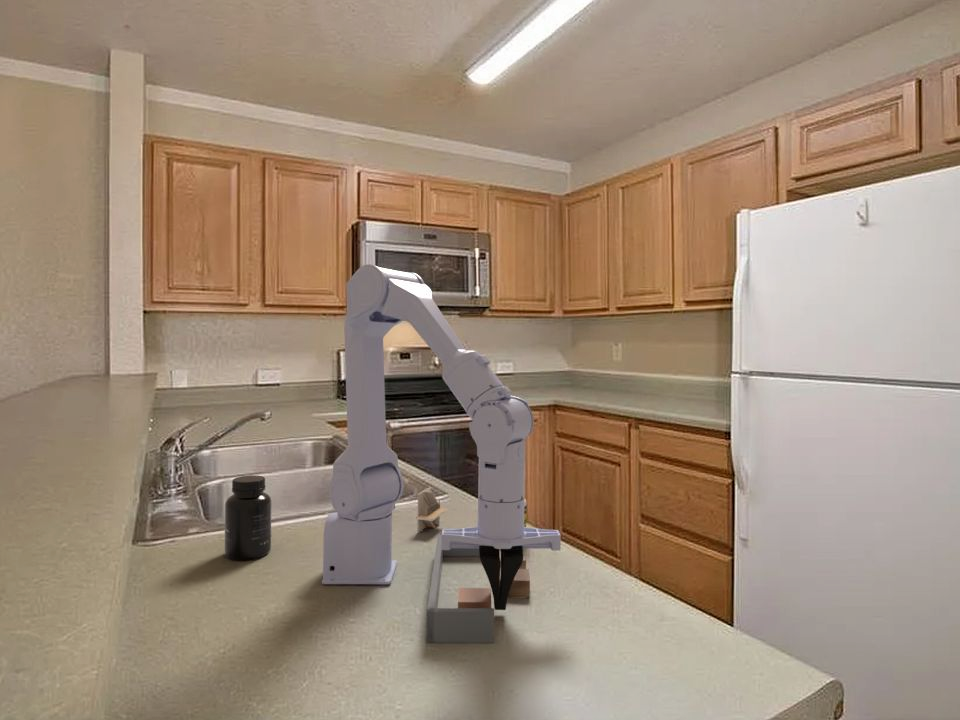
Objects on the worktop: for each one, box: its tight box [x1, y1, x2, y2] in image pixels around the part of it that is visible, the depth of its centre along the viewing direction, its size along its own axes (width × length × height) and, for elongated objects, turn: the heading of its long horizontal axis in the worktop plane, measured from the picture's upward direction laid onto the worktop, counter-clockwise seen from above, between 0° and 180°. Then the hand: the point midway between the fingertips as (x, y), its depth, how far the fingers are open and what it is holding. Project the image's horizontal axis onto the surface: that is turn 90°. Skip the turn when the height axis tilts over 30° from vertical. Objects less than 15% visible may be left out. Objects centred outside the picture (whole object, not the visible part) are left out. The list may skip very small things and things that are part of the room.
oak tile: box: [499, 550, 527, 569], centre depth 83 cm, size 4×4×2 cm
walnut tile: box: [500, 568, 531, 599], centre depth 76 cm, size 4×4×2 cm
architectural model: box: [415, 486, 448, 534], centre depth 101 cm, size 3×7×7 cm, turn 161°
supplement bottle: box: [224, 474, 273, 562], centre depth 88 cm, size 7×7×12 cm
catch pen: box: [426, 532, 495, 644], centre depth 76 cm, size 8×27×4 cm, turn 2°
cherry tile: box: [457, 587, 492, 608], centre depth 69 cm, size 4×4×2 cm
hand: (499, 606), depth 69 cm, fingers closed
